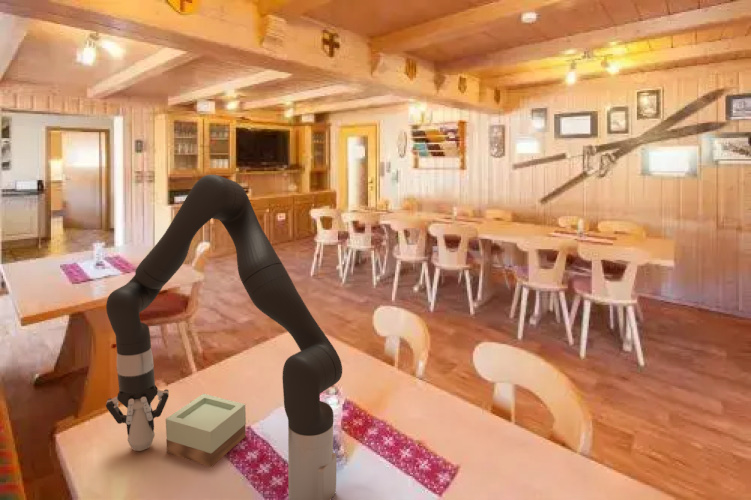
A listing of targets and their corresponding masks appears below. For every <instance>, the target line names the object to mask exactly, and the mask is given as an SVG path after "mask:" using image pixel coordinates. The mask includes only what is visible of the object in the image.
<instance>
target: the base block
mask: <svg viewBox="0 0 751 500" xmlns="http://www.w3.org/2000/svg"><path fill="white" fill-rule="evenodd" d="M246 432H247V430H246V424H245V425H244V426H243V427H242V428H240V429H239V430H238V431H237V432H236V433H235V434H233V435H232V436H231V437H230V438H229V439H228V440H226V441H225V442H224V443H223V444H222V445H221V446H219V447H218V448H217V449H216V450H215V451H214V452H212V453H208V452H205V451H201V450H198V449H195V448H192V447H188V446H185V445H182V444H179V443H175V442H172V441H169V440H167V438H166V442H165V443H166V453H168V454H171V455H174V456H176V457H180V458H183V459H185V460H188V461H191V462H194V463H197V464H201V465H203V466H206V467H208V468H212V467H213V466H214V465H215V464H216V463H217V462H218V461H220V460H221V459H222V458H223V457H224V456H226V454H227V453H229V452H230V451H231V450H232V449H234V447H236V446H237V445H238V444H239V443H240V442H241V441H242V440H244V439H245V438H246V437H247V434H246Z"/></svg>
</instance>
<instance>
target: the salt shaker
mask: <svg viewBox="0 0 751 500" xmlns="http://www.w3.org/2000/svg"><path fill="white" fill-rule="evenodd" d="M143 407H144V404H142V402H141V399H135V400H134V405H132V409H134V410H133V416H132V423H131V425H130V430H129V436H128V435H127V443H128V445H129V446H130V447H131V449H132V450H133V451H138V452H141V451H145V450H146V449H149V448H150V446H151V445H152V444H153V441H154V439H155V434H156V433H155V429H154V430H153V432H152V429H151V425H150V426H149V424H148V420H147V417H146V413H145V411H144V408H143Z"/></svg>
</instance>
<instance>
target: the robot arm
mask: <svg viewBox="0 0 751 500" xmlns="http://www.w3.org/2000/svg"><path fill="white" fill-rule="evenodd" d="M190 189H191V190H190V191H189V192H188V194H187V196H186V198H184V199H185V200H183V203H182V204H181V205H180V208H179V209H178V211H177V213H175V216H174V217H173V219H172V221H171V223H170V224H169V225H168V227H167V229H166V231H165V232H164V234H163V235H162V237H161V238H160V239H159V241H158V242H157V243H156V244H155V245H154V246H153V247H152V249H150V251H149V252H148V253H147V254H146V256H145V257H144V258H143V259H142V260H141V261H140V263H139V264H138V265H137V267H136V269H135V272H134V273H135V274H134V276H132V278H131V279H130V280H128V282H127V283H126V284H124V285H122V286H120V287H119V288H116V289H115V290H113V291H112V292H111V293H110V294H109V295H108V297H107V299H106V307H105V308H106V313H107V318H108V320H109V323H110V325H111V328H112V330H113V333H114V335H115V343H116V344H115V346H116V372H117V380H118V393H117V395H116V396H114V397H113V398H110V397H109V398H107V401H106V403H105V408H106V409H107V410H108V412H109V413H110V414H111V416H112V417H113V419H114V420H115V421H116V423H117V424H119V425H120V424H125V425H126V432H127V437H128V436H129V430H130V425H131V423H132V416H133V410H134V409H132V405H134V400H135V399H141V402H142V404H144V407H143V408H144V411H145V413H146V417H147V420H148V424H149V426H150V425H151V429H152V432H153V430H154V431H155V421H154V419H155V418H159V417H161V415H162V413H163V410H164V409H165V407H166V404H167V402H168V399H169V389H164V390H161V389H158V387H157V385H156V380H155V367H154V363H155V362H154V355H153V351H152V343H151V332H150V327H149V326H148V324H147V323H144V322H142V321H141V317H140V313H142V312H143V311H144V310H145V309H147V308H148V307H149V306H150V305H151V304H152V303H153V302H154V301H155V299H156V298H157V297H158V295H159V293H160V292H161V290H162V289H163V287H164V286H165V285H166V284H167V283H168V282H169V280H171V279H172V278H173V277H174V275H175V274H176V273H177V272H178V271H179V269H180V268H181V267H182V265H183V264H184V262H185V260H186V258H187V256H188V253H189V250H190V246H191V244H192V241H193V239H194V237H195V236H196V234H197V233H198V232H199V231H200V230H201V229H202V227H203V226H205V225H206V224H207V223H208V222H209V221H211V219H212V220H218V221H220V222H221V224H222V225H223V227H224V228H225V229H226V231H227V233H228V235H229V237H230V238H231V240H232V242H233V244H234V249H235V253H236V264H237V271H238V276H239V278H240V282H241V283H242V286H243V287H244V289H245V291H246V293H247V295H248V296H249V299H250V300H251V302H252V304H253V305H254V306H255V307H256V308H257V309H258V310H259V311H260V312H262V313H263V314H264V315H265V316H267V317H268V318H269V319H271V320H273V321H274V322H276V323H277V324H278V325H279V326H282V328H284V329H285V330H286V331H287V332H288V333H289V334H290V336H291V337H292V338H293V340H294V342H295V343H296V344H297V347H298V349H299V350H300V351H298V352H296V353H294V354H292V355H290V356H289V357H288V358H287V359H285V362H284V365H283V367H282V391H283V406H284V411H285V414H286V417H287V420H288V421H287V424H288V427H287V429H288V432H287V433H288V435H287V436H288V439H287V441H288V443H287V444H288V445H287V447H288V448H287V450H288V452H287V453H288V459H287V461H288V463H287V464H288V474H287V475H288V480H287V481H288V488H287V489H288V500H330V499H331V498H332V496H333V495H334V494H335V495H336V493H337V461H338V460H337V458H338V457H337V453H335V452H334V410H333V408H332V406H331V405H330V404H329V403H327V402H325V401H322V400H321V399H320V398H321V396H320V395H321V394H322V393H323V392H325V391H326V390H328V389H329V388H331V387H332V386H335V385H336V384H337V383H338V382H339V381H340V380H341V379H342V375H343V364H342V361H341V358H340V356H339V354H338V352H337V350H336V348H335V347H334V346H333V344H332V343H331V341H330V340H329V338H328V337H327V335H326V333H324V331H323V330H322V328H321V327H320V325H319V324H318V323H317V322H316V319H315V318H314V317H313V315H312V313H311V312H310V310H309V309H308V307H307V305H306V303H305V302H304V300H303V298H302V297H301V295H300V293H299V292H298V290H297V288H296V286H295V284H294V283H293V281H292V278H291V276H290V274H289V273H288V271H287V269H286V267H285V265H284V264H283V261H282V260H281V259H280V257H279V256H278V254H277V252H276V250H275V249H274V246H273V245H272V243H271V242H270V240H269V238H268V236H267V235H266V234H265V232H264V230H263V228H262V226H261V224H260V222H259V219H258V217H257V215H256V212H255V210H254V208H253V205H252V203H251V201H250V198H249V196H248V194H247V192H246V191H245V189H244V187H242V185H241V184H239V183H238V182H236V181H234V180H232V179H229V178H226V177H224V176H220V175H217V174H206V175H203V176H202V177H200V179H198V180H197V181H196V183H195V184H193V186H192V187H191V188H190ZM156 396H157V399H158V403H157V406H156V408H155V409H153V407H152V402H153V401H154V399H155V397H156ZM119 402H120V403H121V404H122V405H123V406H124V407H125V408H126V409H127V412H126V414H124V413H123V412H122V411H121V409H120V407H119ZM335 492H336V493H335ZM335 495H334V496H335ZM334 496H333V497H334ZM332 499H333V498H332ZM332 499H331V500H332Z"/></svg>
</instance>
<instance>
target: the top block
mask: <svg viewBox="0 0 751 500" xmlns="http://www.w3.org/2000/svg"><path fill="white" fill-rule="evenodd" d="M246 415H247V414H246V404H245V403H242V402H239V401H233V400H230V399H226V398H223V397H219V396H214V395H211V394H208V393H202V394H200V395H199V396H198V397H196V398H194V399H193V400H192V401H190V402H189V403H187V404H185V405H184V406H183V407H181V408H179V410H177V411H175V412H174V413H172V414H171V415H169V416H168V417H166V418H165V429H166V430H165V431H166V432H165V433H166V439H167V440H169V441H172V442H175V443H179V444H182V445H185V446H188V447H192V448H195V449H198V450H201V451H205V452H208V453H212V452H214V451H215V450H216V449H217V448H218V447H219V446H221V445H222V444H223V443H224V442H225V441H226V440H228V439H229V438H230V437H231V436H232V435H233V434H235V433H236V432H237V431H238V430H239V429H240V428H242V427H243V426H244V425H245V426H246V424H247V417H246Z"/></svg>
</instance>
